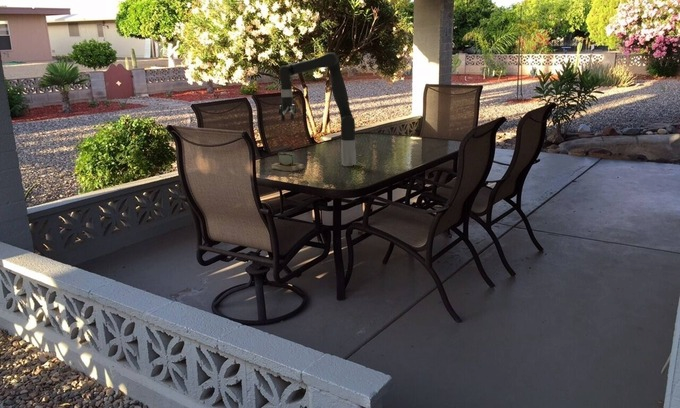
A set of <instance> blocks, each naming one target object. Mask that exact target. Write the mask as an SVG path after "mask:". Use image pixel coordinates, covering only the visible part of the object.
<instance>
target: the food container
mask: <svg viewBox="0 0 680 408" xmlns="http://www.w3.org/2000/svg"><path fill="white" fill-rule="evenodd" d="M295 155H296V154H295V153H294V151H293V152H292V151H280V152H278V153H277V156H278V163H280V165H283V166H293V163H294V157H295Z"/></svg>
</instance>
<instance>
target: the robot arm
mask: <svg viewBox="0 0 680 408" xmlns="http://www.w3.org/2000/svg"><path fill="white" fill-rule="evenodd" d="M321 68H328V71H329V75H330V85H331V86H330V87H331V92H332V96H333V99H334V101H335V104H336V107H337V109H338V112H339V118H340V138H341V140H340V142H341V143H340V145H341V146H340V147H341V148H340V149H341V166H342V165H343V167H354V166H356V165H357V151H356V123H355V122H356V121H355V118H354V115H353V113H352V110H351V107H350V102H349V95H348V92H347V91H348V90H347V88H346V85H345V81H344V80H345V79H344V78H343V74H342V69H341V66H340V60H339V56H338V55H337V54H336V53H335V52H333V51H331V52H326V53H325V54H324V55H321V56H320V57H317V58H313V59H308V60H302V61H299V62H295V63H293V64H289V65H282V66H281V67H279V74H278V75H279V78H280V83H281V84H280V86H281V87H280V88H281V89H280V91H281V92H280V93H281V95H280V96H281V97H280V98H281V101H280V102H281V105H278V115H280V116H281V117H280V118H281V122H285V121H286V116H285V115H286V113H287V112H289V114H290V121H294V120H295V114H297V109H296V108H297V107H296V104H293V103H294V102H293V100H294V99H293V86H292V85H293V84H292V81H291V79H290V78H291V76H294V75H297V74H303V73H307V72H309V71H313V70H316V69H321ZM355 164H356V165H355ZM353 165H354V166H353Z"/></svg>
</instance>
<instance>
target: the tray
mask: <svg viewBox="0 0 680 408" xmlns="http://www.w3.org/2000/svg"><path fill="white" fill-rule="evenodd" d="M304 166H305V164H303V163H296V162H295V163H294V162H293V166H283V165H280V163H279V162H277V163H272V164H271V169H272V170H277V171H284V172H296V171H301V170H304V169H305V167H304Z"/></svg>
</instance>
